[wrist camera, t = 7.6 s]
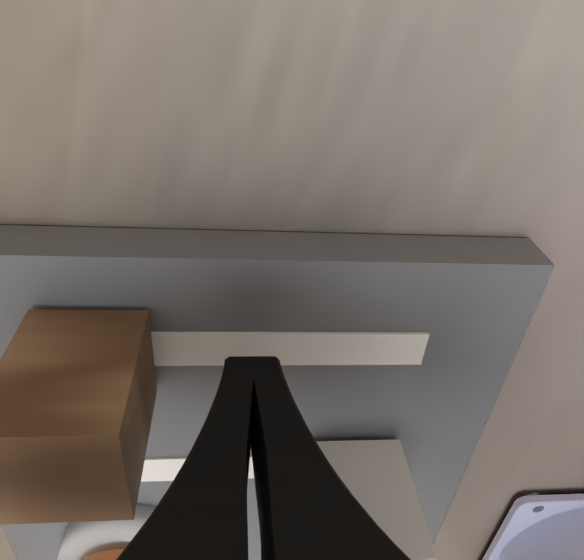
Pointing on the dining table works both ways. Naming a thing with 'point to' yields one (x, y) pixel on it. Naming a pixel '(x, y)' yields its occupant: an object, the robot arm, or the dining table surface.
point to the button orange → (105, 555)
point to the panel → (290, 340)
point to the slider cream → (383, 490)
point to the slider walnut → (75, 415)
